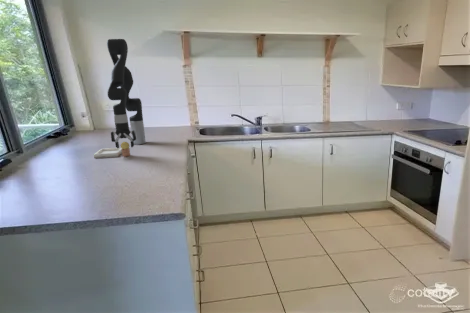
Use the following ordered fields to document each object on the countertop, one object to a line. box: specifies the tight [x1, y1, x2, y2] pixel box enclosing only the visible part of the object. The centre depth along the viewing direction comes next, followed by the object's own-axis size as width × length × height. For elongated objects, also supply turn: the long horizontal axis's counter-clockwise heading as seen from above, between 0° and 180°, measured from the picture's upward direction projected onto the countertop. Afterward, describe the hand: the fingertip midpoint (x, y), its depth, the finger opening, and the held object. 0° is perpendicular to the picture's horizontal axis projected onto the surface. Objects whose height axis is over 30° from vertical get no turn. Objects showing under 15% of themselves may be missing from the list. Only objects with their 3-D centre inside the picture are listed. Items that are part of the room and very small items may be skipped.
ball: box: [120, 141, 130, 149], centre depth 172 cm, size 5×5×5 cm
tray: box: [93, 147, 122, 159], centre depth 178 cm, size 14×14×2 cm
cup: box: [121, 147, 131, 158], centre depth 173 cm, size 5×5×5 cm
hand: (125, 147), depth 172 cm, fingers open, 8 cm apart
